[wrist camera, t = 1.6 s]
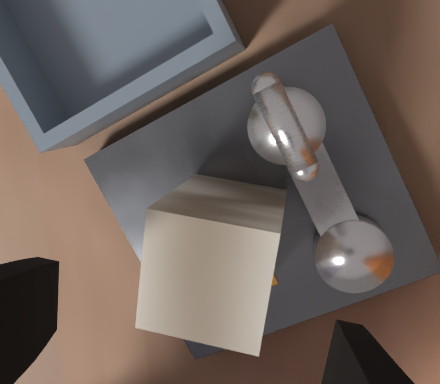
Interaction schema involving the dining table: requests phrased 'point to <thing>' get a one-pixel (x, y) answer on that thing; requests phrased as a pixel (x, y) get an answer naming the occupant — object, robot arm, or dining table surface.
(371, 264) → the crank
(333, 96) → the crank plate
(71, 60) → the tray
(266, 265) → the block
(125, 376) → the dining table surface
